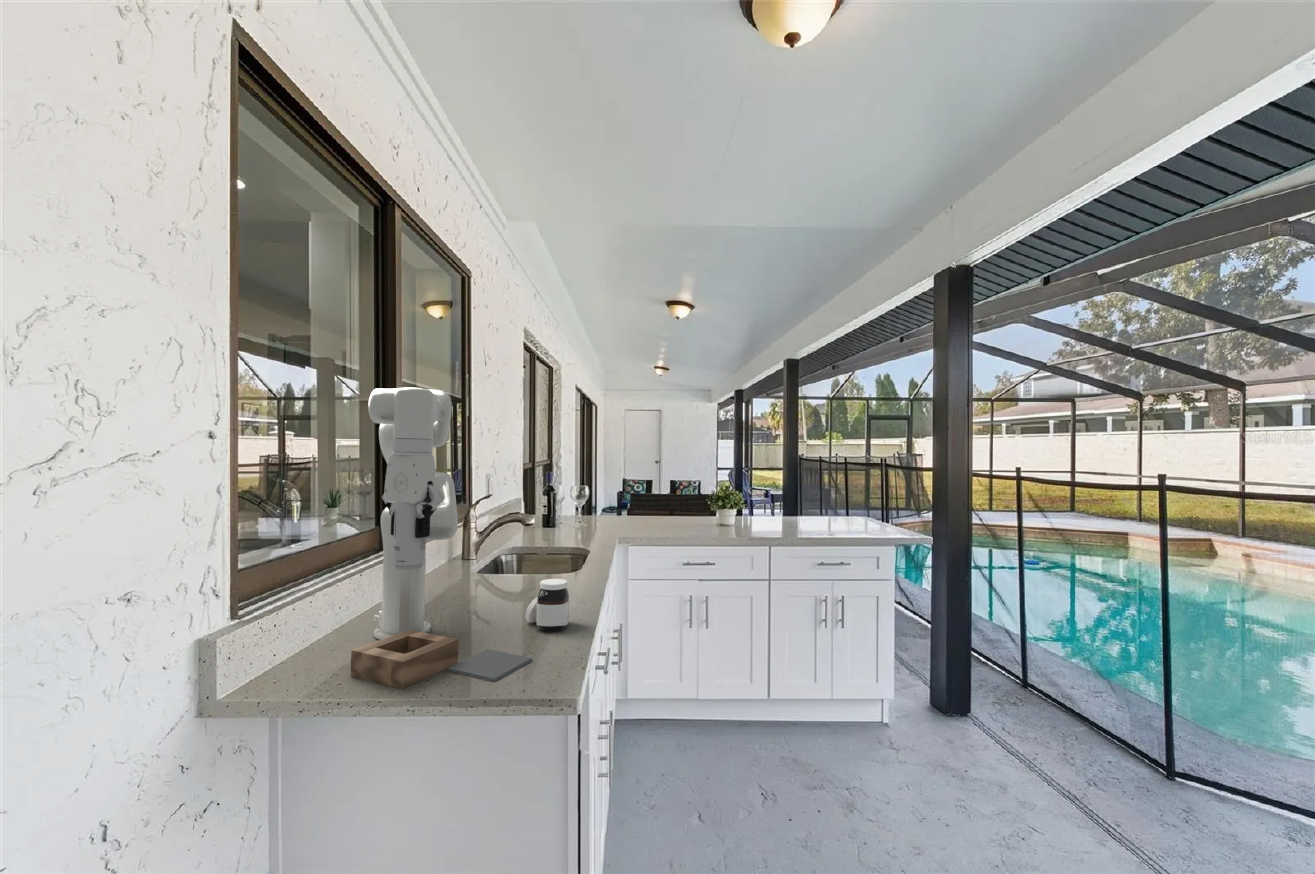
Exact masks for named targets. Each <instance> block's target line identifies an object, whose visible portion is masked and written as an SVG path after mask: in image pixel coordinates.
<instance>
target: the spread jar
mask: <svg viewBox="0 0 1315 874" xmlns="http://www.w3.org/2000/svg"><path fill="white" fill-rule="evenodd" d="M539 588H540V589H539V591H538V593H537V596H536V597H534V599H532V601H531V602H530V603H529V605H528V606H527V608H526V610H525V612H524V613H525V615H524V617H525V620H526V621H527V622H529V623H530V624H534V623H536V627H537V629H539V630H540V631H541V632H547V633H549V632H550V633H552V632H554V633H555V632H560V631H563V630H565V629H566V628H567V627H568V625H569V624H568V623H569V617H570V616H569V615H570V607H569V606H570V593H569V589H568V580H566V579H564V578H548V579H543V580H540V582H539Z"/></svg>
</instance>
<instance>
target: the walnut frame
mask: <svg viewBox="0 0 1315 874" xmlns="http://www.w3.org/2000/svg"><path fill="white" fill-rule="evenodd" d="M350 655H351V656H350V677H354V678H358V679H362V680H365V681H370V682H373V683H377V684H380V685H384V686H388V687H393V688H396V689H400V690H404V689H406V688H408V687H411V686H412V685H414V684H417V683H419V682H421V681H423V680H425V679H427V678H429V677H431V676H434V675H435V674H439V673H440V672H442V671H444V670H447V668H448V667H450V666H452V665H454V664H457V663H459V662H458V661H459V638H456V637H450V636H445V635H439V634H432V633H429V632H428V633H424V632H419V631H414V630H407V631H404V632H401V633H399V634H396V635H393V636H390V637H387V638H384V639H382V640H380V639H378V640H376V641H374V642H370V643H367V644H365V645H362V646H360V647H356V648H353V649H351V652H350Z"/></svg>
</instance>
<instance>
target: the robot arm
mask: <svg viewBox="0 0 1315 874" xmlns="http://www.w3.org/2000/svg"><path fill="white" fill-rule="evenodd" d="M367 408H368V414H369V417H370V420H371V421H372V422H373V423H374V424H378V425H379V427H378V440H379V446H380V450H381V453H382V456H383V458H384V460H385V462H386V464H387V465H386V466H387V467H386V472H385V480H384V491H383V492H384V493H383V494H382V496H381V499H382V500H383V502H384V504H385V506H386V507H385V508H384V509H383V510H382V513H381V514H380V530H381V537H382V549H383V551H382V552H383V553H382V554H383V555H382V557H383V561H382V589H381V590H382V592H381V593H382V594H381V610H379V611H378V612H377V614H374V615H373V617H372V620H373V621H375V622H378V627H376V628H374V630H373V637H374V638H375V639H378V640H382V639H384V638H387V637H390V636H393V635H396V634H399V633H401V632H404V631H407V630H414V631H419V632H424V633H429V632H430V631H431V629H432V628H431V627H432V626H431V623H429V622H428V621H425V604H426V603H425V602H426V601H425V600H426V597H425V596H426V571H427V568H426V567H427V561H426V560H427V559H426V558H425V563H423V564H422V567H421V568H419V569H413V570H398V569H396V566H395V565H393V546H394V515H395V503H396V502H399V501H400V502H403V503H406V504H416V510H417V513H418V517H419V518H416V524H415V537H416V538H423V537H426V541H443V540H449V539H451V538H453V537H454V536H455V535H456V533H457V531H458V524H459V519H458V518H459V517H458V508H457V498H456V489H455V483H454V479H453V478H452V476H451V475H450V474H448V473H446V472H442V471H441V472H440V471H439V472H438V471H437V469H436V460H435V456H434V455H433V449H434V448H438V447H440V448H441V447H443V446H444V445H446V443H447V441H448V439H449V431H450V426H451V425H450V424H451V419H452V409H453V408H452V401H451V397H450V396H449V394H448V393H447V391H445V390H442V389H433V388H432V389H430V388H422V387H396V388H374V389H373V390H372V392H371V393H370V396H369V399H368V407H367ZM423 500H424V501H425V502H420V501H423ZM422 506H425V509H424V510H423V507H422Z"/></svg>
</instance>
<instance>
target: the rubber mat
mask: <svg viewBox="0 0 1315 874" xmlns="http://www.w3.org/2000/svg"><path fill="white" fill-rule="evenodd" d="M532 661H533V657H530V656H525V655H520V654H516V653H515V654H514V653H510V652H509V653H508V652H505V651H500V650H496V649H495V650H494V649H488V648H487V649H485V650H483V651H480V652H478V653H476V654H474V655H472V656H470V657H467V658H466V659H463V660H461V661H459V662H458V663H457V664H454V665H452V666H450V667H448V668H447V669H446V672H451V673H454V674H458V675H463V676H467V677H472V678H477V679H480V680H485V681H490V682H497V681H498V680H500V679H501V678H503V677H506V676H508V675H509V674H510V673H512V672H514V671H517V669H520V668H521V667H523V666H525V665H527V664H529V663H530V662H532Z"/></svg>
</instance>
